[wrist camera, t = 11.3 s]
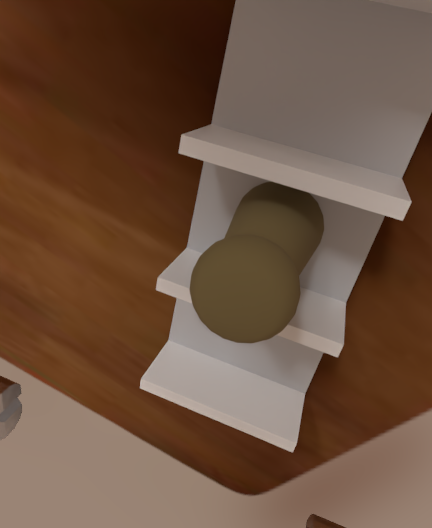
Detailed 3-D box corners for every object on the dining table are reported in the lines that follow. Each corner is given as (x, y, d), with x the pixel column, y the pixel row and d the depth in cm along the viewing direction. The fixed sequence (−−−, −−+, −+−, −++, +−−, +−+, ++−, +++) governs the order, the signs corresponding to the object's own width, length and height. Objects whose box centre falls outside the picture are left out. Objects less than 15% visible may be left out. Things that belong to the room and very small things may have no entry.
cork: (312, 170, 25) (284, 229, 15) (333, 258, 27) (319, 359, 17) (223, 193, 27) (151, 256, 18) (248, 272, 29) (195, 368, 20)
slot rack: (249, -45, 22) (216, -81, 17) (477, 1, 20) (519, -24, 15) (171, 342, 36) (139, 388, 30) (302, 393, 33) (292, 452, 28)
